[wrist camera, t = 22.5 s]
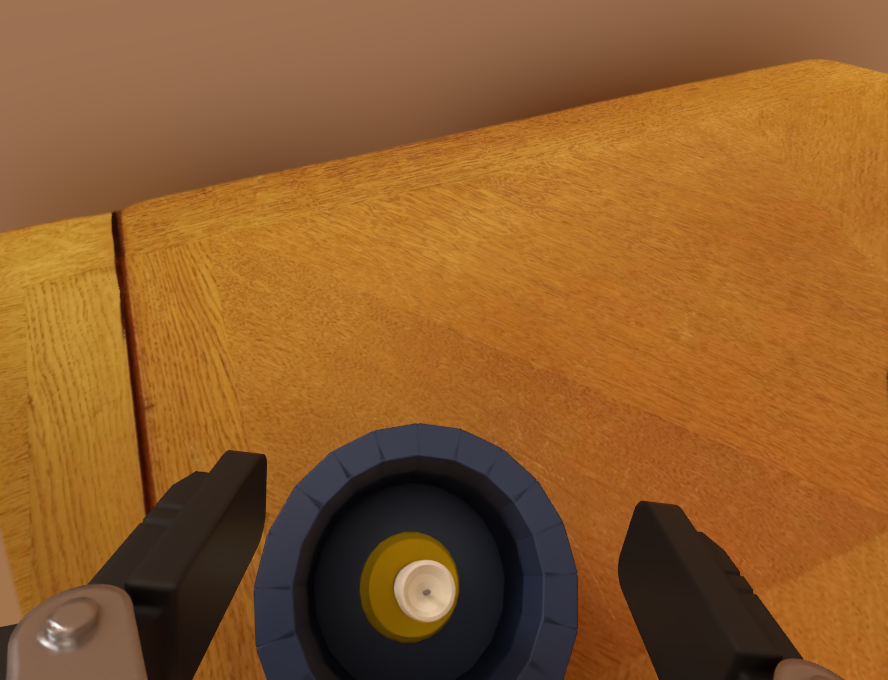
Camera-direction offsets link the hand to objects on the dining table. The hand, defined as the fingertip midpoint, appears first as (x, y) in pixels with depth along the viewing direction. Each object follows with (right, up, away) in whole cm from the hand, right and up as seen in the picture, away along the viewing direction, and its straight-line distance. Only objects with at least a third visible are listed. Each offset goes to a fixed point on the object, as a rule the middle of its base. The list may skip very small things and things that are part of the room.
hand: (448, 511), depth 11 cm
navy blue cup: (-2, -9, +17) cm, 19 cm away
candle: (-2, -9, +16) cm, 19 cm away
